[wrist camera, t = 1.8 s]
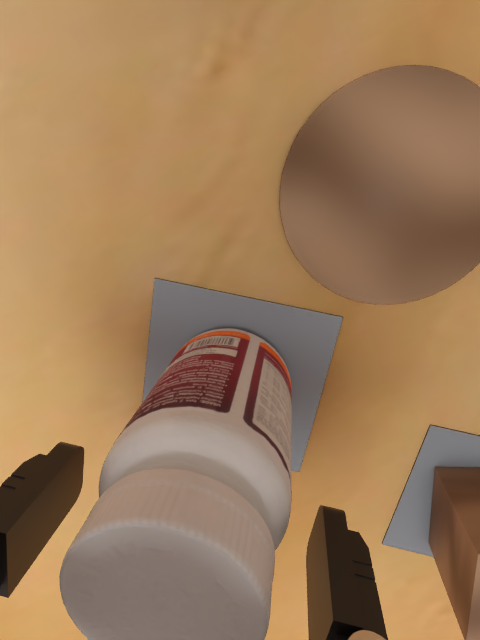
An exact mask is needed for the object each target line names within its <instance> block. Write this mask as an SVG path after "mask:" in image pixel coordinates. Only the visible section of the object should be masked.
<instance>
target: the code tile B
mask: <svg viewBox="0 0 480 640" xmlns="http://www.w3.org/2000/svg"><path fill="white" fill-rule="evenodd" d="M435 467H473V468H480V436H478V435H473V434H469V433H464V432H460V431H455V430H451V429H446V428H442V427H437V426H433V425H430V427H429V429H428V432H427V434H426V437H425V439H424V442H423V444H422V447H421V449H420V451H419V454H418V456H417V459H416V461H415V464H414V466H413V469H412V471H411V474H410V476H409V478H408V481H407V483H406V486H405V488H404V491H403V493H402V496H401V498H400V501H399V503H398V506H397V508H396V510H395V513H394V515H393V518H392V520H391V523H390V525H389V528H388V530H387V533H386V535H385V537H384V540H383V542H382V544H383V545H387V546H391V547H395V548H399V549H403V550H407V551H411V552H415V553H419V554H424V555H428V556H432V557H434V556H433V554H432V551H431V548H430V546H429V543H428V541H429V529H430V517H431V505H432V493H433V481H434V469H435Z"/></svg>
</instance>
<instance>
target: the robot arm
mask: <svg viewBox="0 0 480 640" xmlns="http://www.w3.org/2000/svg"><path fill="white" fill-rule="evenodd" d="M83 464H84V448H83V447H81V446H76V445H72V444H68V443H64V442H60V443H58V444H57V445H56V446H55V447H54V448H53V449H52V450H51V451H50V452H49V454H48V455H42V454H38V455H36V456H35V457H33V458H31V459H29V460H27V461H25V462H24V463H22V464H21V465H20V466H19V467H18V468H17V469H16V470H15V471H14V472H13V473H12V475H11V477H8V478H7V479H6V480H5V481H4V482H3V483H2V485H1V487H0V596H4V597H7V598H9V596H10V595H11V593H12V592H13V590H14V589H15V588H16V586H17V585H18V583H19V582H20V580H21V579H22V578H23V576H24V575H25V573H26V572H27V571H28V569H29V568H30V566H31V565H32V563H33V562H34V561H35V559H36V558H37V556H38V555H39V553H40V552H41V551H42V549H43V548H44V546H45V545H46V544H47V542H48V541H49V539H50V538H51V536H52V535H53V534H54V532H55V531H56V529H57V528H58V526H59V525H60V524H61V522H62V521H63V519H64V518H65V517H66V515H67V514H68V512H69V511H70V509H71V508H72V507H73V505H74V504H75V502H76V500H77V499H78V496H79V494H80V491H81V488H82V483H83ZM306 569H307V598H308V628H309V640H388V637H387V634H386V629H385V624H384V619H383V614H382V610H381V605H380V600H379V595H378V591H377V586H376V582H375V576H374V572H373V568H372V562H371V557H370V553H369V548H368V547H367V545H366V543H365V542H364V540H363V538H362V537H361V535H360V533H359V532H355V531H351V530H348V528H347V522H346V516H345V512H344V511H343V510H339V509H335V508H331V507H327V506H322V505H321V506H320V507H319V509H318V512H317V515H316V519H315V522H314V525H313V528H312V532H311V535H310V538H309V542H308V547H307V556H306Z"/></svg>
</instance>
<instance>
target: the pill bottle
mask: <svg viewBox="0 0 480 640" xmlns="http://www.w3.org/2000/svg"><path fill="white" fill-rule="evenodd" d="M291 431H292V386H291V379H290V375H289V372H288V369H287V366H286V364H285V362H284V360H283V359H282V357H281V356H280V355H279V353H278V352H277V351H276V350H275V349H274V348H273V347H272V346H271V345H270V344H269V343H267V342H266V341H265V340H263V339H262V338H260V337H258V336H256V335H254V334H252V333H249V332H246V331H243V330H238V329H232V328H224V329H215V330H211V331H207V332H204V333H202V334H199V335H197V336H196V337H194V338H192V339H191V340H190V341H188V342H187V343H186V344H185V345H184V346H183V347H182V348H181V349H180V350H179V351H178V352H177V354H176V355H175V357H174V358H173V359H172V361H171V362H170V364H169V365H168V367H167V368H166V370H165V371H164V372H163V374H162V375H161V377H160V378H159V380H158V381H157V383H156V384H155V386H154V387H153V388H152V390H151V391H150V393H149V394H148V396H147V397H146V399H145V400H144V401H143V403H142V404H141V406H140V407H139V409H138V410H137V412H136V413H135V414H134V416H133V417H132V419H131V420H130V422H129V423H128V424H127V426H126V427H125V428H124V430H123V431H122V433H121V434H120V435H119V437H118V438H117V440H116V441H115V442H114V444H113V447H112V448H111V450H110V452H109V453H108V455H107V457H106V459H105V461H104V464H103V467H102V471H101V475H100V481H99V499H98V501H97V502H96V504H95V505H94V507H93V509H92V510H91V512H90V514H89V516H88V518H87V520H86V521H85V523H84V525H83V526H82V528H81V529H80V531H79V533H78V534H77V536H76V537H75V539H74V541H73V542H72V544H71V546H70V547H69V549H68V551H67V553H66V555H65V557H64V560H63V563H62V567H61V571H60V590H61V595H62V599H63V603H64V605H65V607H66V610H67V612H68V614H69V616H70V617H71V619H72V620H73V622H74V623H75V625H76V626H77V627H78V629H79V630H80V631H81V632H82V633H83V634H84V635H85V636H86V637H87V638H88V639H89V640H264V639H265V636H266V633H267V629H268V625H269V618H270V607H271V592H272V582H273V576H274V563H275V550H276V549H277V547H278V546H279V544H280V543H281V541H282V539H283V537H284V534H285V532H286V529H287V526H288V522H289V517H290V509H291V497H292V491H291Z"/></svg>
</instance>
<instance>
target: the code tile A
mask: <svg viewBox="0 0 480 640" xmlns="http://www.w3.org/2000/svg"><path fill="white" fill-rule="evenodd" d="M342 320H343V317H341V316H336V315H331V314H326V313H321V312H316V311H312V310H307V309H302V308H297V307H292V306H287V305H283V304H278V303H273V302H268V301H263V300H258V299H253V298H249V297H244V296H239V295H234V294H229V293H224V292H220V291H215V290H210V289H205V288H200V287H195V286H191V285H186V284H181V283H176V282H171V281H166V280H162V279H157V278H155V282H154V292H153V302H152V311H151V321H150V331H149V341H148V351H147V361H146V371H145V381H144V391H143V401H144V400H145V399H146V397H147V396H148V394H149V393H150V391H151V390H152V388H153V387H154V386H155V384H156V383H157V381H158V380H159V378H160V377H161V375H162V374H163V372H164V371H165V370H166V368H167V367H168V365H169V364H170V362H171V361H172V359H173V358H174V357H175V355H176V354H177V352H178V351H179V350H180V349H181V348H182V347H183V346H184V345H185V344H186V343H187V342H188V341H190V340H191V339H192V338H194V337H196V336H197V335H199V334H202V333H204V332H207V331H211V330H215V329H224V328H232V329H238V330H243V331H246V332H249V333H252V334H254V335H256V336H258V337H260V338H262V339H263V340H265V341H266V342H267V343H269V344H270V345H271V346H272V347H273V348H274V349H275V350H276V351H277V352H278V353H279V355H280V356H281V357H282V359H283V360H284V362H285V364H286V366H287V369H288V372H289V375H290V379H291V386H292V431H291V470H292V471H296V472H300V468H301V465H302V461H303V457H304V454H305V450H306V447H307V443H308V440H309V436H310V433H311V429H312V426H313V422H314V419H315V415H316V411H317V408H318V404H319V401H320V397H321V394H322V390H323V387H324V383H325V380H326V376H327V373H328V369H329V366H330V362H331V358H332V355H333V351H334V348H335V344H336V341H337V337H338V334H339V330H340V327H341V323H342ZM143 401H142V403H143Z"/></svg>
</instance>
